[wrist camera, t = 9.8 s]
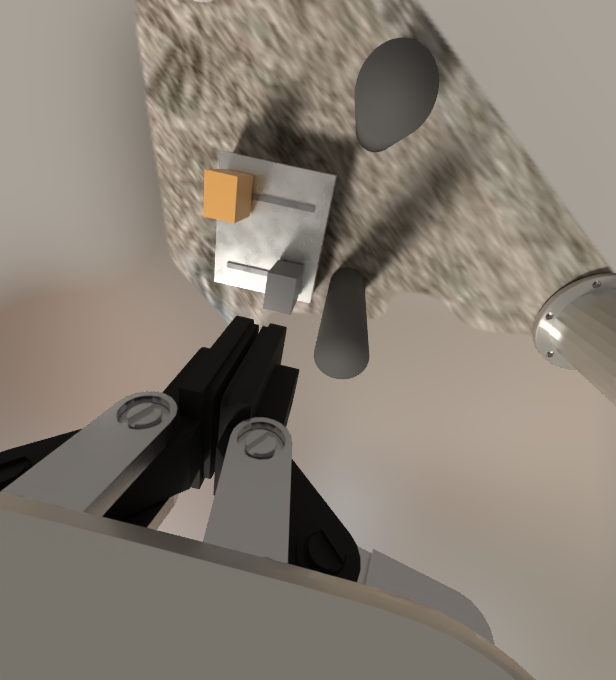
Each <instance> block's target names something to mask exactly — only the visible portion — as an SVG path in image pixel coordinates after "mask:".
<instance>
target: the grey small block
mask: <svg viewBox="0 0 616 680" xmlns="http://www.w3.org/2000/svg"><path fill="white" fill-rule="evenodd" d="M303 268H304V265H300V264H295V263H291V262H286V261H282V260H278V261H277V262H276V263H275V264H274V265H273V267H272V268H271V269H270V270H269V271H268V274H267V282H266V290H265V298H264V305H263V308H264V309H268V310H272V311H277V312H281V313H286V314H291V313H292V310H293V308H294V306H295V304H296V301H297V299H298V295H299V290H300V284H301V279H302V274H303Z"/></svg>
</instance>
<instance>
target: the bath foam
mask: <svg viewBox="0 0 616 680" xmlns="http://www.w3.org/2000/svg"><path fill="white" fill-rule="evenodd" d="M194 1H197V2H210V1H213V0H194Z"/></svg>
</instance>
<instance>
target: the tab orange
mask: <svg viewBox="0 0 616 680" xmlns="http://www.w3.org/2000/svg"><path fill="white" fill-rule="evenodd" d="M252 186H253V175H250V174H246V173H241V172H236V171H232V170H227V169H205V180H204V217H208V218H213V219H217V220H222V221H226V222H231V223H236V222H238V221H240V220H243V219H245V218H247V217H249V216H250V208H251V197H252Z"/></svg>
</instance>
